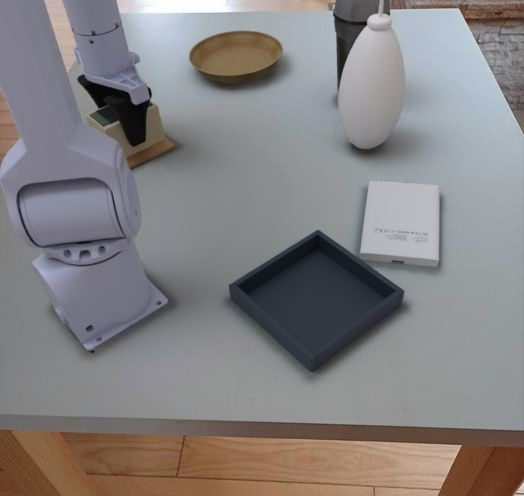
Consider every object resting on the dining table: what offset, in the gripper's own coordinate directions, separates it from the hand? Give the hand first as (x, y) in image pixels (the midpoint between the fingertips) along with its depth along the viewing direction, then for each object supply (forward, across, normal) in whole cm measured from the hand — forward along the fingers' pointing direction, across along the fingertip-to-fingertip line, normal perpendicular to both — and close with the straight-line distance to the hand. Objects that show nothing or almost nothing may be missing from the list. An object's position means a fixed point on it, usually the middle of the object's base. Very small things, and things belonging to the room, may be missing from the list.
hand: (127, 134), depth 70 cm
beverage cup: (+2, -13, -30) cm, 33 cm away
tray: (+2, -38, +1) cm, 38 cm away
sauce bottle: (+2, -22, -23) cm, 32 cm away
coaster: (+2, 0, 0) cm, 2 cm away
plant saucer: (+2, +7, -24) cm, 25 cm away
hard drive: (+2, -36, -14) cm, 39 cm away
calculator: (+1, 0, 0) cm, 1 cm away
